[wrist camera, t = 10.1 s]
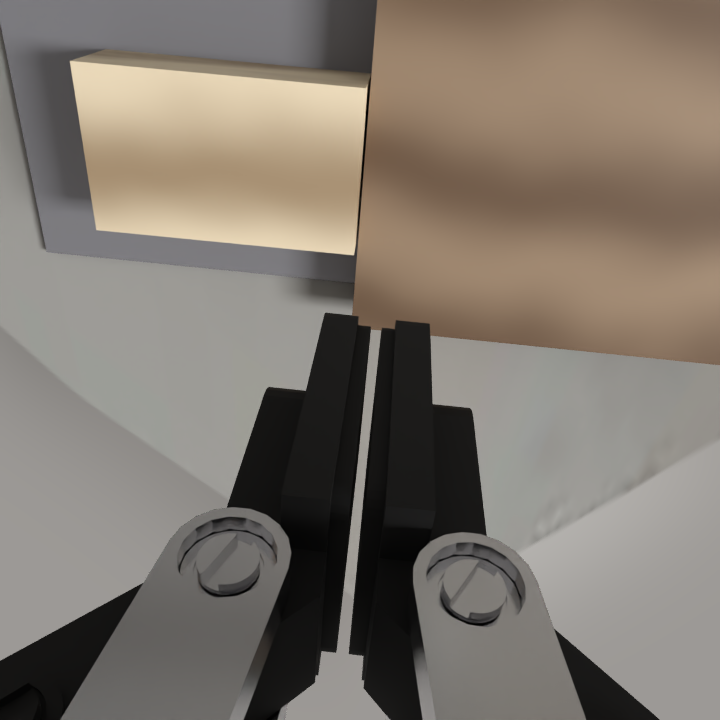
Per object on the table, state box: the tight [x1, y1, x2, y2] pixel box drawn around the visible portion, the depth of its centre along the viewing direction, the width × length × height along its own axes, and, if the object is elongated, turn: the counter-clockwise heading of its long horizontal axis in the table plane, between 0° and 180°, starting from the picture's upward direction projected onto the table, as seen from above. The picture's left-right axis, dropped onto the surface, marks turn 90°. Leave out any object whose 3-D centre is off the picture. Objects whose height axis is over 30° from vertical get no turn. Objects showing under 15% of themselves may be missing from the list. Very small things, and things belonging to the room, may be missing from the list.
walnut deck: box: [352, 0, 720, 365], centre depth 24 cm, size 14×16×2 cm
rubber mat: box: [0, 0, 377, 283], centre depth 26 cm, size 12×14×1 cm
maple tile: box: [70, 49, 371, 255], centre depth 24 cm, size 6×10×3 cm, turn 86°
